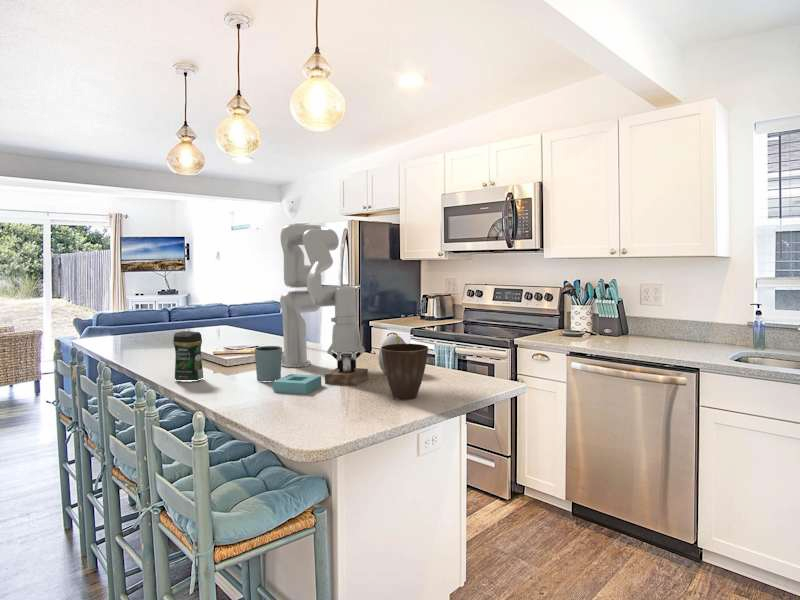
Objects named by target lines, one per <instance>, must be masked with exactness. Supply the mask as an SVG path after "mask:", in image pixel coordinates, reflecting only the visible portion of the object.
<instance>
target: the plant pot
mask: <svg viewBox="0 0 800 600" xmlns="http://www.w3.org/2000/svg"><path fill="white" fill-rule="evenodd" d="M380 348H381V351H382V358H383V363H384V368H385V373H386V374H385V373H384V374H385V376H386V380H387V383H388V386H389V389H390V392H391V395H392V397H393V398H394V399H396V400H402V401H403V400H404V401H405V400H407V401H408V400H414V399H416V398H417V397H418V393H419V391H420V388H421V384H422V381H423V377H424V374H425V371H426V365H427V359H428V353H429V346H428V345H425V344H418V343H417V344H416V343H406V344H391V345H385V346H382V347H381V346H380Z"/></svg>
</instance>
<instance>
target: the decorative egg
mask: <svg viewBox="0 0 800 600" xmlns="http://www.w3.org/2000/svg"><path fill="white" fill-rule="evenodd" d="M391 344H407V342H406V341H405V340H404V339H403V338H402V337H401V336H400V335H398V334H391V335H388V336H387V337H386V338H385V339H384V340H383V342H382V344H381V346H380V348H379V352H378V364H379V367H380V370H381V371H382V372H383V374H385V375H386V373H385V368H384V363H383V358H382V351H381V347H382V346H385V345H391Z"/></svg>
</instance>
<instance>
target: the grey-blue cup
mask: <svg viewBox="0 0 800 600" xmlns="http://www.w3.org/2000/svg"><path fill="white" fill-rule="evenodd" d="M282 355H283V347H282V346H280V345H279V346H278V345H264V346H258V347H254V359H255V371H256V381H257V380H258V381H275V380H278V379H280V378H282V376H281V375H282V373H281V371H282V366H281V362H282ZM258 381H257V382H258Z"/></svg>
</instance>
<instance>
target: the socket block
mask: <svg viewBox="0 0 800 600" xmlns="http://www.w3.org/2000/svg"><path fill="white" fill-rule="evenodd" d="M319 386H320V387H321V386H322V375H314V374H313V375H312V374H295V373H294V374H293V373H292V374H287V375H286V376H283V377H281V378H280V379H278V380H276V381H273V382H272V392H273V391H277V392H276V393H282V392H291V393H290V394H298V393H304V394H303V395H306V393H307V394H308V393H310V392H312V391H314V390H316V389H318V388H320V387H319Z"/></svg>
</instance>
